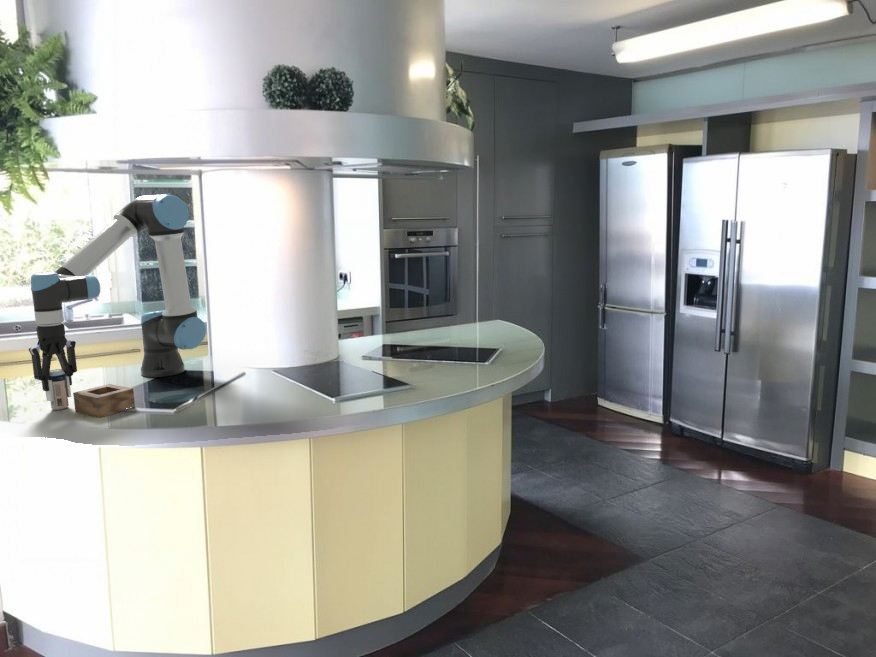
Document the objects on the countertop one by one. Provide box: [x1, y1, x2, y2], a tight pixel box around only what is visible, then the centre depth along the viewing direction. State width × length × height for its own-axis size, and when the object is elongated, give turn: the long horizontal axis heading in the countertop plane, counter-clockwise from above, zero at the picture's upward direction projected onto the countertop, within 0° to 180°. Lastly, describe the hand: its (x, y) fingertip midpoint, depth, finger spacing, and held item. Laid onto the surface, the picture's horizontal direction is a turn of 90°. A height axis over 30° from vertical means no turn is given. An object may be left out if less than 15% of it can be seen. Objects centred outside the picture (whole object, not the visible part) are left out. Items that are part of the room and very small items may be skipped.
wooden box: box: [72, 383, 136, 418], centre depth 219 cm, size 12×12×6 cm
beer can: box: [49, 368, 70, 411], centre depth 221 cm, size 5×5×12 cm
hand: (59, 398), depth 221 cm, fingers closed on beer can, 5 cm apart
